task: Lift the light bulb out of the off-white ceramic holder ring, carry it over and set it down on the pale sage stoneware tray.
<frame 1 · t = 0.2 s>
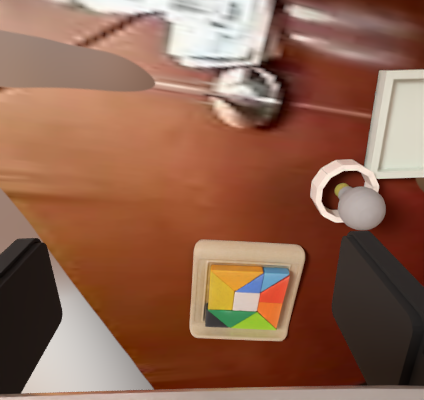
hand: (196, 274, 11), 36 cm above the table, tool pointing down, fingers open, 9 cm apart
light bulb: (339, 187, 49), resting in holder ring
wooden puzzle: (243, 287, 56), on the table
tray: (421, 123, 45), on the table
holder ring: (340, 188, 49), on the table
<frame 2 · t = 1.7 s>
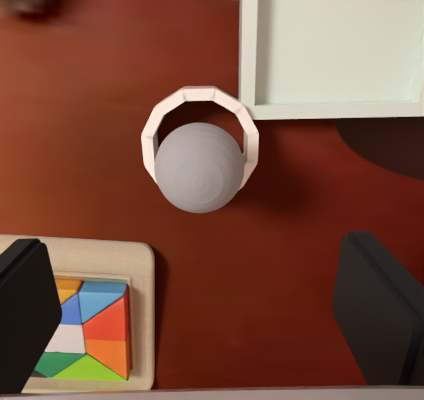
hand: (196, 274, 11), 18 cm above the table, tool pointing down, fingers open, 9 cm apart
light bulb: (201, 140, 27), resting in holder ring
wooden puzzle: (72, 313, 35), on the table
tray: (337, 13, 24), on the table
holder ring: (201, 141, 27), on the table
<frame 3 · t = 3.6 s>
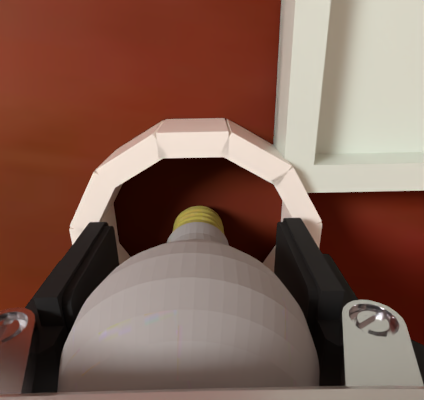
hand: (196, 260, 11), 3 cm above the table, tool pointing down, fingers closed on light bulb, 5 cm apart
light bulb: (199, 219, 14), resting in holder ring, touching gripper
holder ring: (198, 221, 14), on the table
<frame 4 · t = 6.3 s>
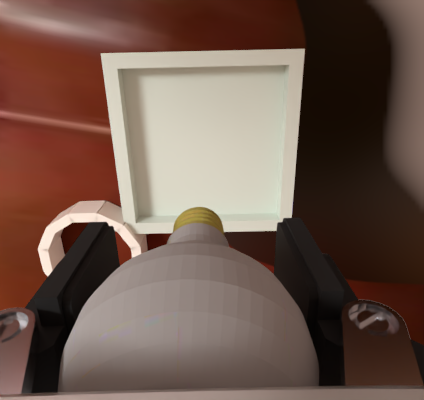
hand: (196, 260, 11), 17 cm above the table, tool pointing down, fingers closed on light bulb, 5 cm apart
light bulb: (199, 220, 14), point 14 cm above the table, touching gripper
tray: (205, 145, 27), on the table
holder ring: (100, 243, 31), on the table
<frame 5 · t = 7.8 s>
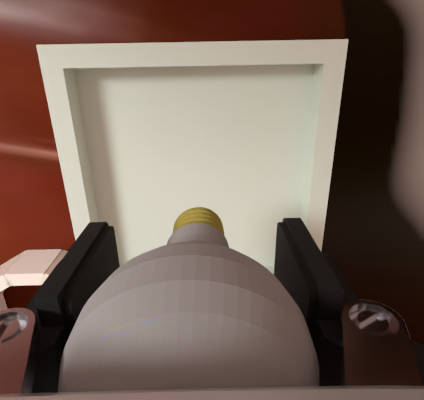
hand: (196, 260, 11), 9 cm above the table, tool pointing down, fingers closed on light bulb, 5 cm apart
light bulb: (199, 220, 14), point 6 cm above the table, touching gripper
tray: (198, 176, 19), on the table
holder ring: (57, 303, 23), on the table
when the fingers open (5 cm above the table, at t = 9.0 s): light bulb drops 1 cm, resting on tray.
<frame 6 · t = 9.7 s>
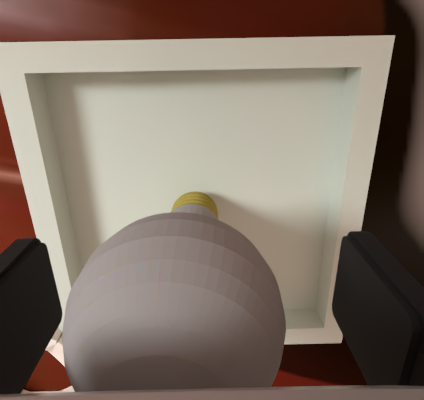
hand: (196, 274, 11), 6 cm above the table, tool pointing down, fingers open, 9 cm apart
light bulb: (196, 205, 15), resting on tray
tray: (199, 203, 16), on the table
holder ring: (32, 349, 19), on the table
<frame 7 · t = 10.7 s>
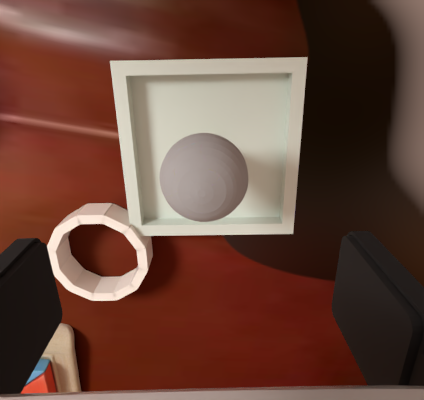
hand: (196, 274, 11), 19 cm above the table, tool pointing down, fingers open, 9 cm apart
light bulb: (208, 149, 28), resting on tray
wooden puzzle: (10, 378, 39), on the table
tray: (210, 149, 28), on the table
holder ring: (106, 245, 31), on the table
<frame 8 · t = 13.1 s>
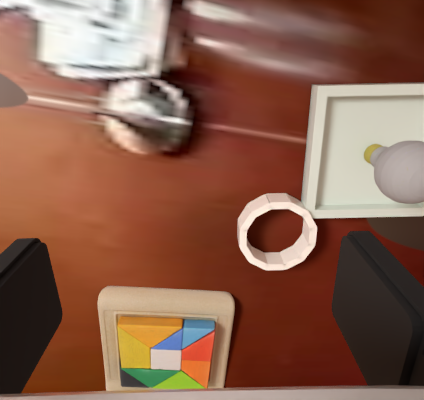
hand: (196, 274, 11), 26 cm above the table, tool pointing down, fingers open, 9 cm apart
light bulb: (370, 151, 36), resting on tray
wooden puzzle: (167, 339, 47), on the table
tray: (369, 151, 36), on the table
holder ring: (273, 227, 40), on the table
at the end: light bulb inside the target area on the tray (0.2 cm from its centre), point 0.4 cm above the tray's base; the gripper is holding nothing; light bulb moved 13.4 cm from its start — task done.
